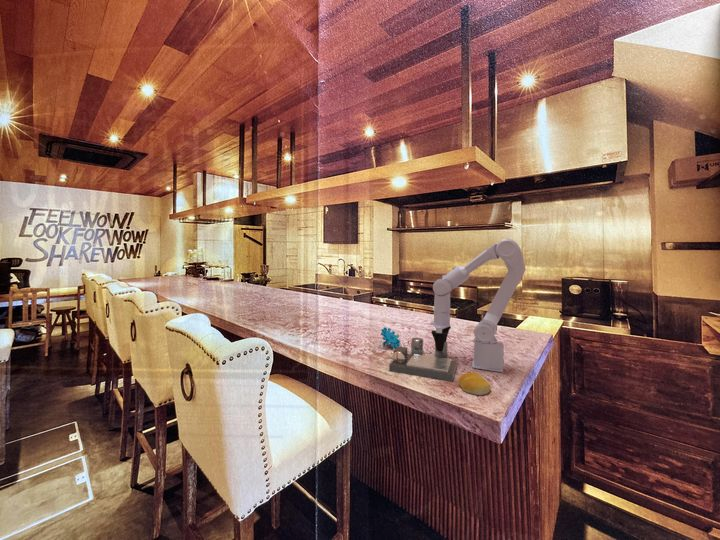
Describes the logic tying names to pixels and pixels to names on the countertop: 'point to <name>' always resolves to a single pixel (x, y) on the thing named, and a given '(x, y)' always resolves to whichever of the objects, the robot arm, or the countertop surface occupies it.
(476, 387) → the bread roll
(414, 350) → the cylinder
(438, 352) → the cylinder
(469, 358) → the countertop surface
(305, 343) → the countertop surface
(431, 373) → the grey fixture base
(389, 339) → the gear
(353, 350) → the countertop surface
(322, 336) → the countertop surface
